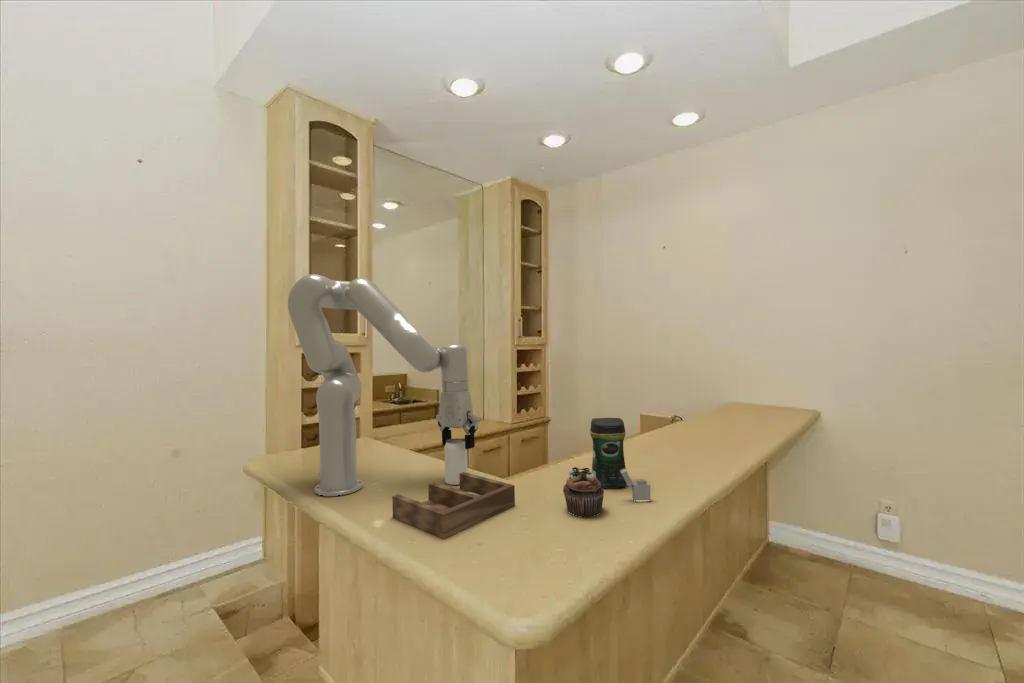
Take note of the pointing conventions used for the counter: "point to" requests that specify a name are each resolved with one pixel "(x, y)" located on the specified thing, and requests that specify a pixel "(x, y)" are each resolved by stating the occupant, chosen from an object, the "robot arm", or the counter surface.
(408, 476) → the counter surface
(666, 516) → the counter surface
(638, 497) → the lighter
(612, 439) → the coffee jar
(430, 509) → the tray
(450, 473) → the can
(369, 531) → the counter surface
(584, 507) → the cupcake
